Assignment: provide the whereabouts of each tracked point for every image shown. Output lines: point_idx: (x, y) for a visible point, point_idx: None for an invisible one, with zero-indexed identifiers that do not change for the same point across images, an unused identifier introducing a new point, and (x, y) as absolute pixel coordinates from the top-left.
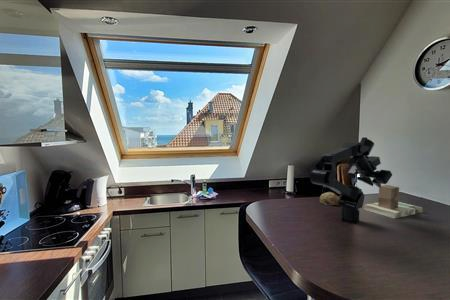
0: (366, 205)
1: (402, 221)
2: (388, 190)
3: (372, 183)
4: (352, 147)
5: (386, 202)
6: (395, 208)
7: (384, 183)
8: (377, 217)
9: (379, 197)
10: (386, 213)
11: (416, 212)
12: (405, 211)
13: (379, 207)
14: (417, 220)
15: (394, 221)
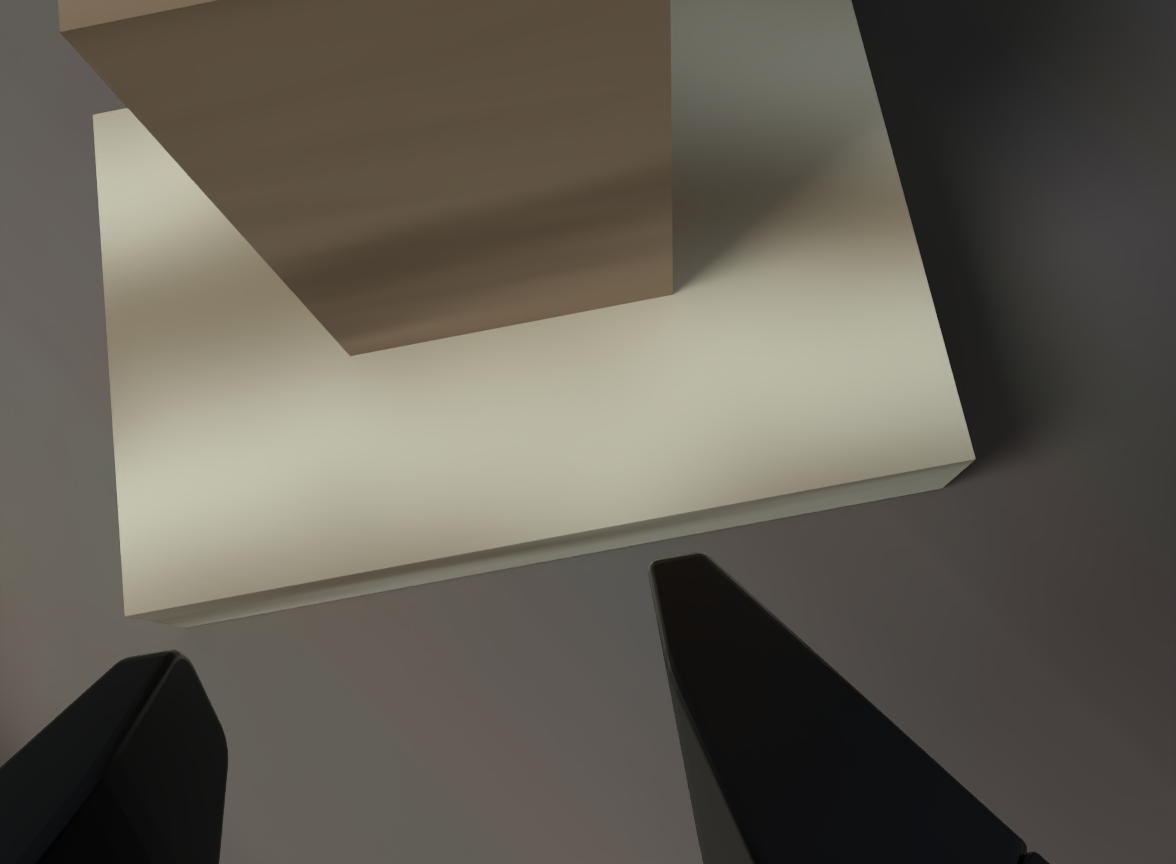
0: (191, 606)
1: (1161, 481)
2: (551, 18)
3: (152, 763)
4: None
5: (551, 253)
6: None
7: None
8: None
9: (296, 256)
10: (763, 511)
11: None
12: (858, 50)
13: (464, 427)
14: (1141, 109)
15: (1137, 669)
